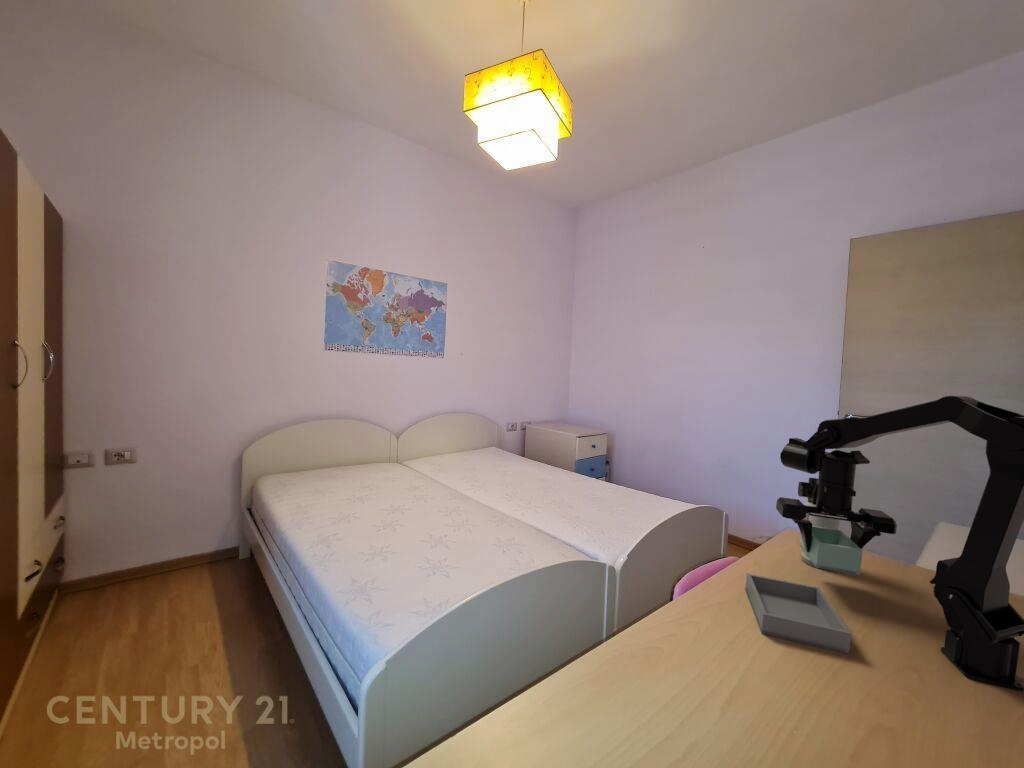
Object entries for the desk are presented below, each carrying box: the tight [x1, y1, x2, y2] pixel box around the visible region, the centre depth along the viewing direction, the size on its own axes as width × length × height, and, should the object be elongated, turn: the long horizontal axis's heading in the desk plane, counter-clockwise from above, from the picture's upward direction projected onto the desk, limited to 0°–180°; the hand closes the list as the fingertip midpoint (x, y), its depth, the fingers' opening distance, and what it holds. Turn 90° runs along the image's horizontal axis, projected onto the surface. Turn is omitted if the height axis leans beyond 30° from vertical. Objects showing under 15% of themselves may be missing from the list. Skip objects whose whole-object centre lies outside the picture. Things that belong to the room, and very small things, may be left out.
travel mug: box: [800, 477, 840, 570], centre depth 94 cm, size 6×7×20 cm
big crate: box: [744, 573, 852, 655], centre depth 74 cm, size 12×14×3 cm
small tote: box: [800, 526, 863, 576], centre depth 84 cm, size 10×7×5 cm
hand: (828, 554), depth 84 cm, fingers closed on small tote, 7 cm apart
